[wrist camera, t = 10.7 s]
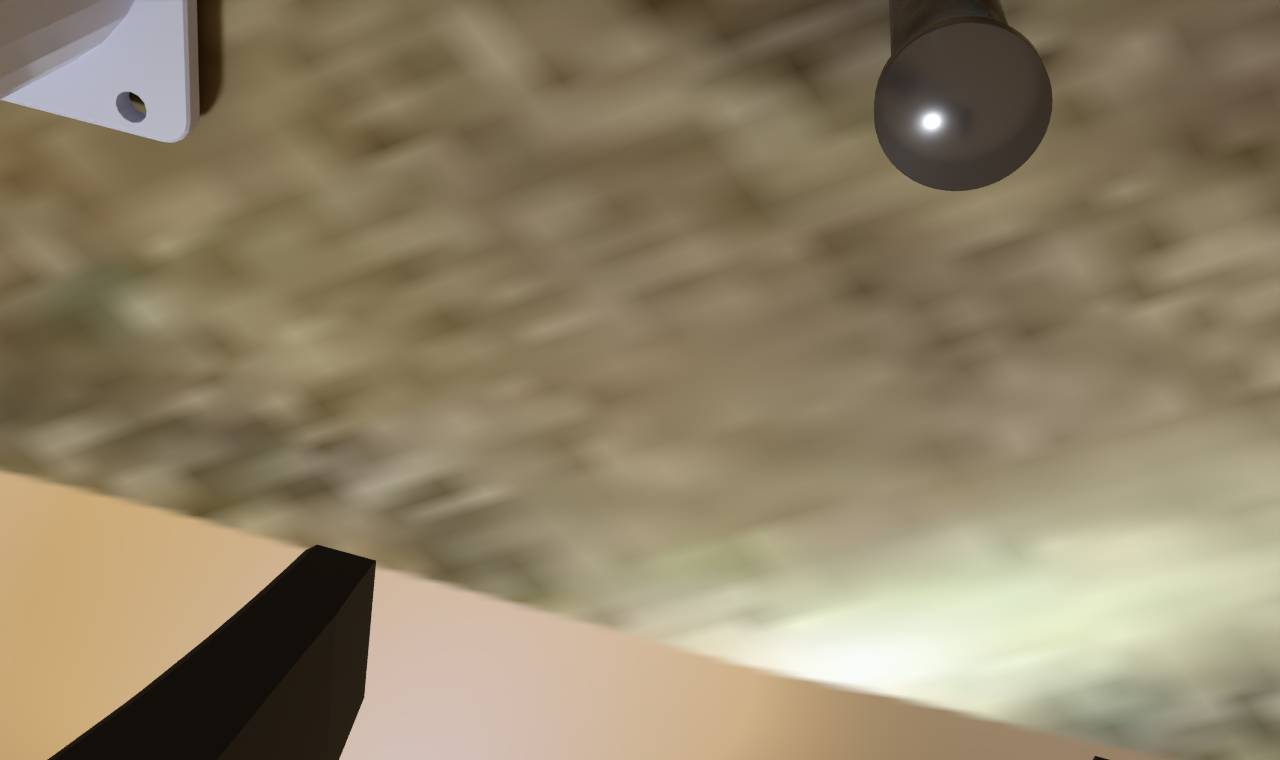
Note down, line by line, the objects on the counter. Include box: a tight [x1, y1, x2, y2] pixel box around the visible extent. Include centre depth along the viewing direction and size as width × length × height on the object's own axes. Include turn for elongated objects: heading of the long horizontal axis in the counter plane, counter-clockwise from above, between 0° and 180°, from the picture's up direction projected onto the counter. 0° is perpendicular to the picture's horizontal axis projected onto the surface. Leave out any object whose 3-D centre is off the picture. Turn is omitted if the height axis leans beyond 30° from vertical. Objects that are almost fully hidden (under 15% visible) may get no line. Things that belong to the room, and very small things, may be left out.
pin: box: [874, 0, 1052, 191], centre depth 14 cm, size 2×2×5 cm
